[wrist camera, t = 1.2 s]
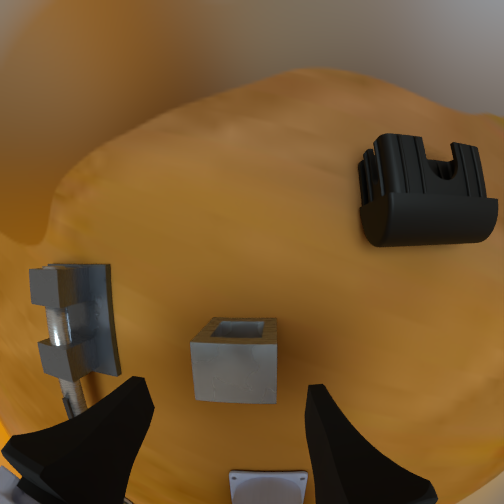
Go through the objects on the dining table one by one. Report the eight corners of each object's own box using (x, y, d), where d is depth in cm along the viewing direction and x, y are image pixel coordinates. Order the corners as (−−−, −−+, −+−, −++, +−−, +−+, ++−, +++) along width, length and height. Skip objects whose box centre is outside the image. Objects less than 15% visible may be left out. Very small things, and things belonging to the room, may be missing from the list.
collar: (276, 364, 21) (276, 403, 15) (215, 362, 22) (195, 399, 15) (276, 317, 21) (277, 344, 15) (213, 317, 22) (190, 341, 15)
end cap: (358, 248, 21) (393, 246, 14) (351, 161, 21) (378, 127, 14) (454, 243, 20) (502, 241, 13) (446, 167, 20) (489, 146, 13)
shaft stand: (131, 420, 22) (108, 447, 17) (75, 403, 23) (49, 422, 18) (110, 264, 22) (73, 267, 17) (52, 263, 23) (17, 265, 18)
